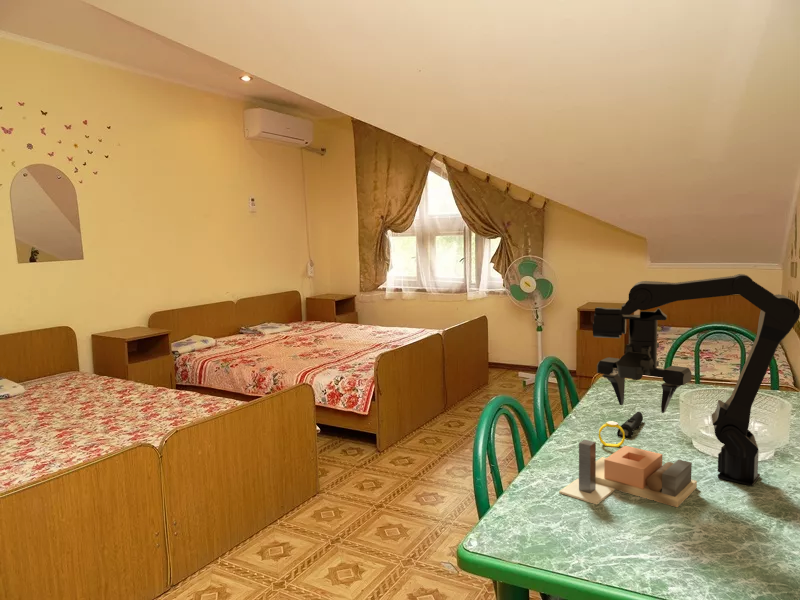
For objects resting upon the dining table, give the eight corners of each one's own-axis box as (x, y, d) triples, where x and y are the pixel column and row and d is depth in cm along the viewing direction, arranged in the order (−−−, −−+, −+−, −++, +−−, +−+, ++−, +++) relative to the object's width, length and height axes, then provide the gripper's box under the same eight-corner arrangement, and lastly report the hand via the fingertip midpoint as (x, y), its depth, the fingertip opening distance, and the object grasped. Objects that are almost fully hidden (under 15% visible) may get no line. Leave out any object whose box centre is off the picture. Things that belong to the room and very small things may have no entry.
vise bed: (696, 487, 119) (697, 461, 118) (677, 507, 111) (677, 479, 110) (602, 463, 132) (602, 439, 132) (579, 479, 125) (579, 454, 124)
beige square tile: (614, 490, 119) (614, 488, 119) (596, 504, 113) (596, 502, 113) (578, 479, 124) (578, 478, 124) (559, 492, 119) (559, 490, 118)
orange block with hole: (662, 472, 123) (662, 454, 122) (643, 488, 116) (643, 469, 115) (624, 463, 128) (624, 445, 128) (604, 477, 121) (604, 459, 121)
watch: (623, 446, 143) (625, 422, 142) (624, 450, 140) (626, 426, 140) (598, 442, 145) (600, 419, 144) (597, 446, 142) (599, 422, 142)
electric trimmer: (646, 423, 159) (646, 412, 159) (631, 440, 147) (631, 427, 146) (632, 421, 161) (632, 409, 161) (615, 437, 149) (615, 425, 149)
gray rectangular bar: (595, 489, 119) (595, 442, 117) (590, 493, 117) (590, 445, 116) (584, 486, 120) (584, 439, 119) (578, 490, 118) (578, 442, 117)
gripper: (585, 340, 128) (585, 409, 130) (674, 350, 115) (672, 427, 117) (607, 333, 136) (607, 398, 138) (693, 341, 123) (691, 413, 125)
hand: (641, 408), depth 129 cm, fingers open, 9 cm apart
